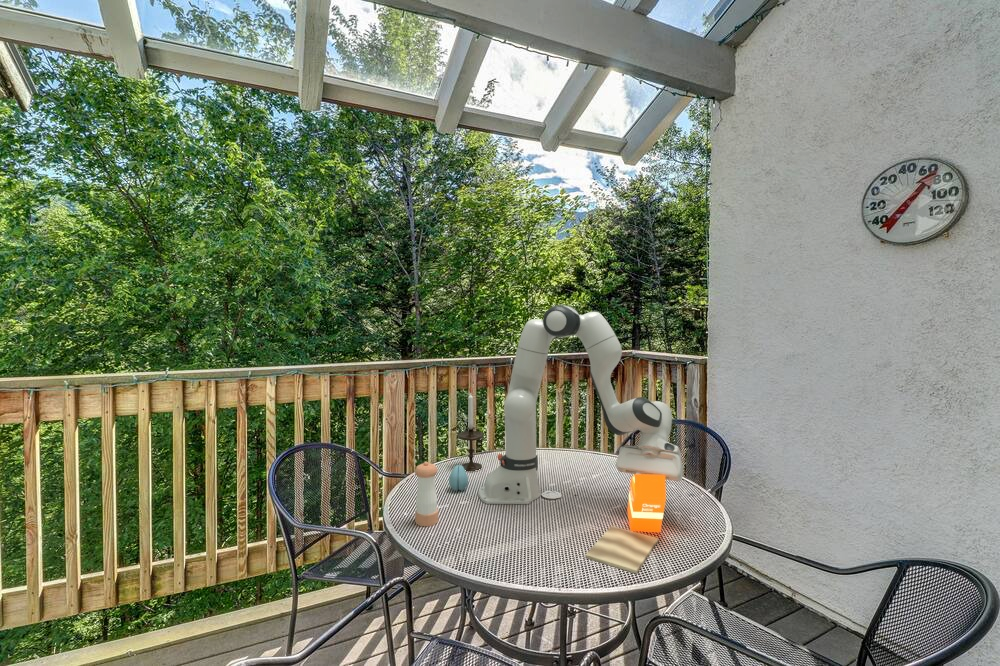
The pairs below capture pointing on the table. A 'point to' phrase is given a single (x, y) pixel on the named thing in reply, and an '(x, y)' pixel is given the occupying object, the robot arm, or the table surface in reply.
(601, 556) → the board
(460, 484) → the toy flower bud
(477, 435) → the candlestick
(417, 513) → the pepper shaker
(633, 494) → the orange juice
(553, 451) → the table surface
